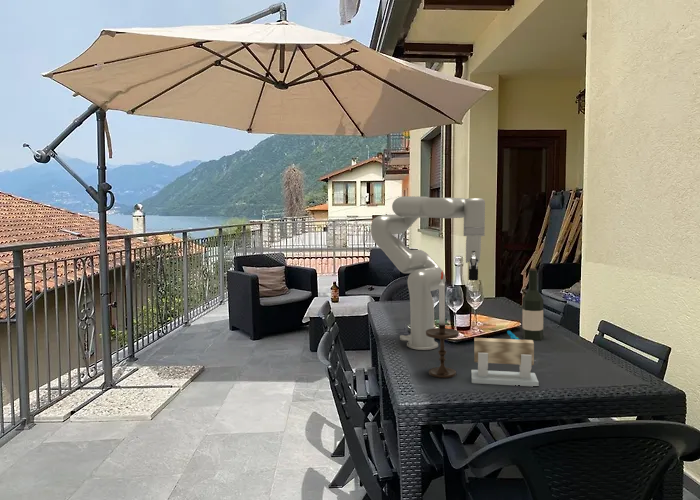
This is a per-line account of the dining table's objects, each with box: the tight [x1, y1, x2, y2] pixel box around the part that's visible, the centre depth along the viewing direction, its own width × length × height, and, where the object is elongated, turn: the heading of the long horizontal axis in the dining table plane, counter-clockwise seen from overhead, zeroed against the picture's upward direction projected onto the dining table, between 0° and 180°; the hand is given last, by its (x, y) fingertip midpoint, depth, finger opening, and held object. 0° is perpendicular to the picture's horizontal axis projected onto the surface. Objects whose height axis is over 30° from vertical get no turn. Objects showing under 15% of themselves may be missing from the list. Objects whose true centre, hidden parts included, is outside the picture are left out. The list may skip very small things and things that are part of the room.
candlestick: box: [426, 269, 460, 379], centre depth 165 cm, size 11×11×35 cm
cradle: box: [470, 353, 540, 387], centre depth 158 cm, size 20×9×10 cm, turn 77°
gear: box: [506, 330, 521, 340], centre depth 193 cm, size 11×6×10 cm
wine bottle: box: [521, 267, 544, 342], centre depth 209 cm, size 8×8×30 cm
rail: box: [473, 337, 535, 366], centre depth 158 cm, size 18×4×7 cm, turn 76°
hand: (473, 278), depth 182 cm, fingers open, 9 cm apart
